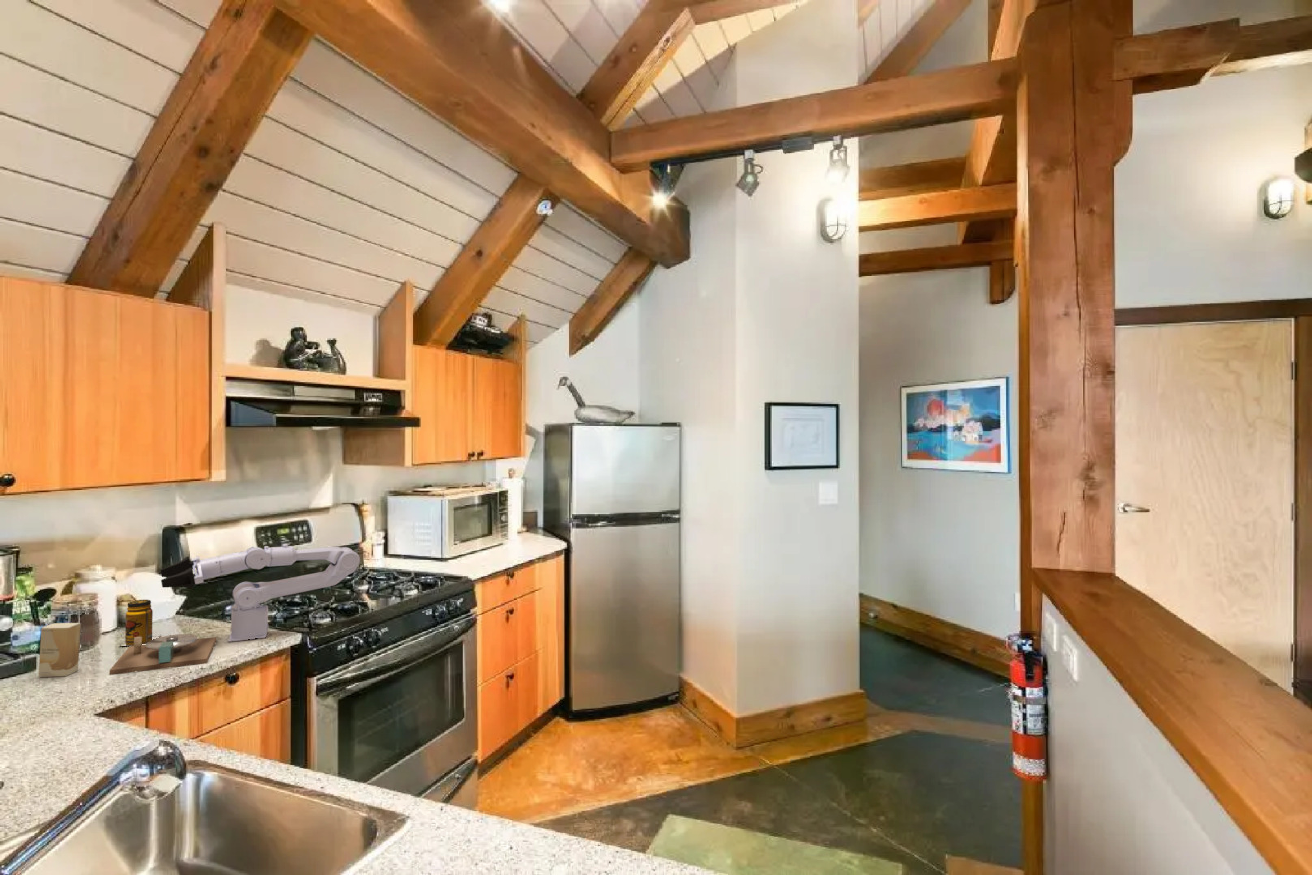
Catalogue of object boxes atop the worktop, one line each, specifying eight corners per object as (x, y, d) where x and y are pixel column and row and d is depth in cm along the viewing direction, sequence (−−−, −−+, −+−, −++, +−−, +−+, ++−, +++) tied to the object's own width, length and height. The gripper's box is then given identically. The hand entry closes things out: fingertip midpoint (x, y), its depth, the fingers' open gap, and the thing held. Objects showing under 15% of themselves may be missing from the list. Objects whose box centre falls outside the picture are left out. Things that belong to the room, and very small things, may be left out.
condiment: (118, 647, 179) (119, 605, 179) (132, 638, 187) (133, 597, 187) (149, 645, 181) (149, 603, 181) (162, 636, 189) (163, 596, 189)
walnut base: (216, 640, 186) (217, 622, 186) (206, 662, 168) (207, 642, 168) (129, 650, 176) (129, 630, 176) (109, 674, 159) (109, 652, 159)
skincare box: (37, 677, 156) (38, 627, 156) (50, 671, 160) (51, 622, 160) (68, 676, 157) (69, 627, 157) (80, 670, 162) (81, 621, 162)
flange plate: (150, 647, 175) (151, 632, 175) (199, 641, 180) (200, 627, 180) (137, 665, 162) (137, 649, 162) (190, 659, 167) (190, 643, 167)
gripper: (215, 544, 191) (158, 556, 183) (219, 562, 180) (159, 575, 172) (219, 566, 193) (162, 578, 184) (223, 584, 181) (164, 598, 173)
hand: (161, 578), depth 178 cm, fingers open, 7 cm apart
